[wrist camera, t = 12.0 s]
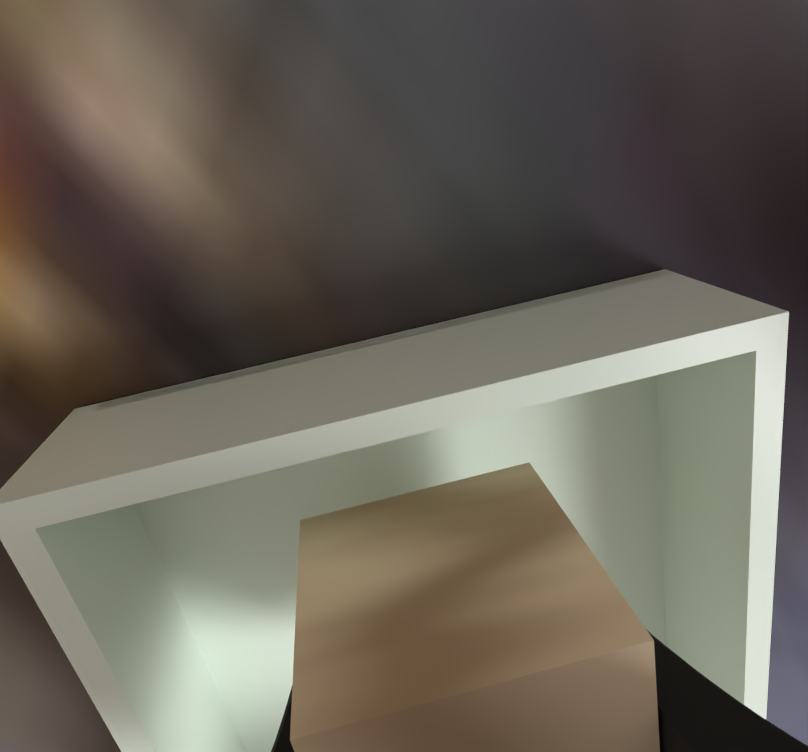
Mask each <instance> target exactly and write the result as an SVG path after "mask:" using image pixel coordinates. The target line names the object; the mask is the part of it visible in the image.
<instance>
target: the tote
mask: <svg viewBox="0 0 808 752" xmlns="http://www.w3.org/2000/svg"><path fill="white" fill-rule="evenodd" d="M788 321H789V311H786V310H783V309H780V308H777V307H774V306H771V305H768V304H765V303H763V302H760V301H757V300H754V299H751V298H748V297H745V296H742V295H739V294H736V293H733V292H730V291H727V290H725V289H722V288H719V287H716V286H713V285H710V284H707V283H704V282H701V281H698V280H695V279H692V278H690V277H687V276H684V275H681V274H678V273H675V272H672V271H669V270H666V269H664V270H660V271H655V272H651V273H647V274H643V275H638V276H634V277H630V278H626V279H621V280H617V281H613V282H609V283H605V284H600V285H596V286H592V287H588V288H583V289H579V290H575V291H571V292H567V293H562V294H558V295H554V296H550V297H545V298H541V299H537V300H533V301H528V302H524V303H520V304H516V305H512V306H507V307H503V308H499V309H495V310H490V311H486V312H482V313H478V314H473V315H469V316H465V317H461V318H457V319H452V320H448V321H444V322H440V323H435V324H431V325H427V326H423V327H419V328H414V329H410V330H406V331H402V332H397V333H393V334H389V335H385V336H380V337H376V338H372V339H368V340H364V341H359V342H355V343H351V344H347V345H342V346H338V347H334V348H330V349H326V350H321V351H317V352H313V353H309V354H304V355H300V356H296V357H292V358H287V359H283V360H279V361H275V362H271V363H266V364H262V365H258V366H254V367H249V368H245V369H241V370H237V371H232V372H228V373H224V374H220V375H216V376H211V377H207V378H203V379H199V380H194V381H190V382H186V383H182V384H178V385H173V386H169V387H165V388H161V389H156V390H152V391H148V392H144V393H139V394H135V395H131V396H127V397H123V398H118V399H114V400H110V401H106V402H101V403H97V404H93V405H89V406H84V407H80V408H76V409H74V410H73V411H72V412H71V413H70V414H69V415H68V416H67V417H66V418H65V420H64V421H63V422H62V423H61V424H60V425H59V426H58V427H57V428H56V429H55V430H54V431H53V433H52V434H51V435H50V436H49V437H48V438H47V439H46V440H45V441H44V442H43V443H42V444H41V446H40V447H39V448H38V449H37V450H36V451H35V452H34V453H33V454H32V455H31V456H30V457H29V459H28V460H27V461H26V462H25V463H24V464H23V465H22V466H21V467H20V468H19V469H18V470H17V472H16V473H15V474H14V475H13V476H12V477H11V478H10V479H9V480H8V481H7V482H6V483H5V484H4V486H3V487H2V488H1V489H0V540H1V542H2V544H3V545H4V547H5V549H6V551H7V552H8V554H9V556H10V558H11V559H12V561H13V563H14V565H15V566H16V568H17V570H18V572H19V573H20V575H21V577H22V579H23V580H24V582H25V584H26V586H27V587H28V589H29V591H30V593H31V594H32V596H33V598H34V600H35V601H36V603H37V605H38V607H39V608H40V610H41V612H42V614H43V615H44V617H45V619H46V621H47V622H48V624H49V626H50V628H51V629H52V631H53V633H54V635H55V636H56V638H57V640H58V642H59V643H60V645H61V647H62V649H63V650H64V652H65V654H66V656H67V657H68V659H69V661H70V663H71V664H72V666H73V668H74V670H75V671H76V673H77V675H78V677H79V678H80V680H81V682H82V684H83V685H84V687H85V689H86V691H87V692H88V694H89V696H90V698H91V699H92V701H93V703H94V705H95V706H96V708H97V710H98V712H99V713H100V715H101V717H102V719H103V720H104V722H105V724H106V726H107V727H108V729H109V731H110V733H111V734H112V736H113V738H114V740H115V741H116V743H117V745H118V747H119V748H120V750H121V752H271V750H272V748H273V745H274V742H275V739H276V736H277V733H278V730H279V727H280V724H281V721H282V718H283V715H284V712H285V708H286V705H287V702H288V698H289V695H290V691H291V688H292V683H293V662H294V640H295V619H296V598H297V576H298V555H299V533H300V520H302V519H306V518H310V517H314V516H318V515H322V514H326V513H330V512H334V511H338V510H342V509H346V508H350V507H354V506H358V505H362V504H366V503H370V502H374V501H378V500H382V499H385V498H389V497H393V496H397V495H401V494H405V493H409V492H413V491H417V490H421V489H425V488H429V487H433V486H437V485H441V484H445V483H449V482H453V481H457V480H461V479H465V478H469V477H473V476H477V475H481V474H485V473H489V472H493V471H497V470H500V469H504V468H508V467H512V466H516V465H520V464H524V463H528V462H530V464H531V465H532V467H533V468H534V470H535V471H536V472H537V474H538V475H539V477H540V478H541V480H542V481H543V482H544V484H545V485H546V487H547V488H548V490H549V491H550V492H551V494H552V495H553V497H554V498H555V500H556V501H557V502H558V504H559V505H560V507H561V508H562V510H563V511H564V512H565V514H566V515H567V517H568V518H569V520H570V521H571V522H572V524H573V525H574V527H575V528H576V530H577V531H578V532H579V534H580V535H581V537H582V538H583V540H584V541H585V542H586V544H587V545H588V547H589V548H590V550H591V551H592V553H593V554H594V555H595V557H596V558H597V560H598V561H599V563H600V564H601V565H602V567H603V568H604V570H605V571H606V573H607V574H608V575H609V577H610V578H611V580H612V581H613V583H614V584H615V585H616V587H617V588H618V590H619V591H620V593H621V594H622V595H623V597H624V598H625V600H626V601H627V603H628V604H629V605H630V607H631V608H632V610H633V611H634V613H635V614H636V615H637V617H638V618H639V620H640V621H641V623H642V624H643V625H644V627H645V628H646V630H648V631H649V632H650V633H651V634H652V635H653V636H655V637H656V638H657V639H658V640H659V641H661V642H662V643H663V644H664V645H666V646H667V647H668V648H669V649H671V650H672V651H673V652H674V653H676V654H677V655H678V656H679V657H681V658H682V659H683V660H684V661H686V662H687V663H688V664H689V665H691V666H692V667H693V668H694V669H696V670H697V671H698V672H700V673H701V674H702V675H704V676H705V677H706V678H708V679H709V680H710V681H712V682H713V683H714V684H716V685H717V686H718V687H720V688H721V689H723V690H724V691H725V692H727V693H728V694H729V695H731V696H732V697H734V698H735V699H736V700H738V701H739V702H741V703H742V704H744V705H745V706H746V707H748V708H749V709H751V710H752V711H754V712H755V713H757V714H758V715H760V716H761V717H763V718H764V719H766V712H767V694H768V677H769V659H770V641H771V623H772V605H773V588H774V570H775V552H776V534H777V516H778V499H779V481H780V463H781V445H782V428H783V410H784V392H785V374H786V356H787V339H788Z"/></svg>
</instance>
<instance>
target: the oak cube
mask: <svg viewBox="0 0 808 752" xmlns="http://www.w3.org/2000/svg"><path fill="white" fill-rule="evenodd" d="M290 742H291V744H292V747H293V749H294V752H660V741H659V723H658V705H657V687H656V669H655V651H654V640H653V638H652V637H651V635H650V634H649V633H648V631H647V630H646V628H645V627H644V625H643V624H642V623H641V621H640V620H639V618H638V617H637V615H636V614H635V613H634V611H633V610H632V608H631V607H630V605H629V604H628V603H627V601H626V600H625V598H624V597H623V595H622V594H621V593H620V591H619V590H618V588H617V587H616V585H615V584H614V583H613V581H612V580H611V578H610V577H609V575H608V574H607V573H606V571H605V570H604V568H603V567H602V565H601V564H600V563H599V561H598V560H597V558H596V557H595V555H594V554H593V553H592V551H591V550H590V548H589V547H588V545H587V544H586V542H585V541H584V540H583V538H582V537H581V535H580V534H579V532H578V531H577V530H576V528H575V527H574V525H573V524H572V522H571V521H570V520H569V518H568V517H567V515H566V514H565V512H564V511H563V510H562V508H561V507H560V505H559V504H558V502H557V501H556V500H555V498H554V497H553V495H552V494H551V492H550V491H549V490H548V488H547V487H546V485H545V484H544V482H543V481H542V480H541V478H540V477H539V475H538V474H537V472H536V471H535V470H534V468H533V467H532V465H531V464H530V462H528V463H524V464H520V465H516V466H512V467H508V468H504V469H500V470H497V471H493V472H489V473H485V474H481V475H477V476H473V477H469V478H465V479H461V480H457V481H453V482H449V483H445V484H441V485H437V486H433V487H429V488H425V489H421V490H417V491H413V492H409V493H405V494H401V495H397V496H393V497H389V498H385V499H382V500H378V501H374V502H370V503H366V504H362V505H358V506H354V507H350V508H346V509H342V510H338V511H334V512H330V513H326V514H322V515H318V516H314V517H310V518H306V519H302V520H300V533H299V555H298V576H297V598H296V619H295V640H294V662H293V683H292V705H291V726H290Z"/></svg>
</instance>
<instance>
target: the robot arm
mask: <svg viewBox="0 0 808 752" xmlns="http://www.w3.org/2000/svg"><path fill="white" fill-rule="evenodd" d="M647 631H648V630H647ZM648 633H649V634H650V635H651V637H652V638H653V640H654V651H655V669H656V687H657V705H658V723H659V741H660V752H808V746H807V745H805V744H803V743H802V742H800V741H798V740H797V739H795V738H794V737H792V736H790V735H789V734H787V733H786V732H784V731H783V730H781V729H780V728H778V727H776V726H775V725H773V724H772V723H770V722H769V721H767V720H766V719H764V718H763V717H761V716H760V715H758V714H757V713H755V712H754V711H752V710H751V709H749V708H748V707H746V706H745V705H744V704H742V703H741V702H739V701H738V700H736V699H735V698H734V697H732V696H731V695H729V694H728V693H727V692H725V691H724V690H723V689H721V688H720V687H718V686H717V685H716V684H714V683H713V682H712V681H710V680H709V679H708V678H706V677H705V676H704V675H702V674H701V673H700V672H698V671H697V670H696V669H694V668H693V667H692V666H691V665H689V664H688V663H687V662H686V661H684V660H683V659H682V658H681V657H679V656H678V655H677V654H676V653H674V652H673V651H672V650H671V649H669V648H668V647H667V646H666V645H664V644H663V643H662V642H661V641H659V640H658V639H657V638H656V637H655V636H653V635H652V634H651V633H650V632H649V631H648ZM291 705H292V688H291V691H290V695H289V698H288V702H287V705H286V708H285V712H284V715H283V718H282V721H281V724H280V727H279V730H278V733H277V736H276V739H275V742H274V745H273V748H272V750H271V752H294V749H293V747H292V744H291V742H290V726H291Z"/></svg>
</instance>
